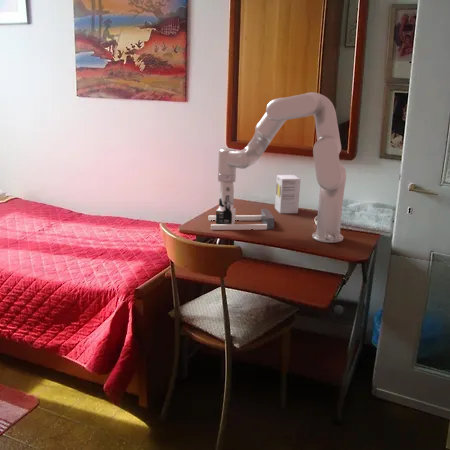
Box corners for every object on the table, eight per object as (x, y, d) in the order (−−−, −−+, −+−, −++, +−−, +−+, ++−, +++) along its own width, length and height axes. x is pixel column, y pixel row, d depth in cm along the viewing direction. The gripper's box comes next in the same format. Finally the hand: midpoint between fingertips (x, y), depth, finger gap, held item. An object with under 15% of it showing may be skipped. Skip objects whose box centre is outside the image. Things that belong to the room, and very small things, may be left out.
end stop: (273, 229, 230) (274, 218, 228) (266, 229, 229) (267, 218, 228) (267, 219, 244) (267, 208, 242) (260, 219, 244) (261, 208, 242)
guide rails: (266, 229, 229) (267, 224, 229) (211, 229, 227) (211, 225, 226) (260, 219, 244) (261, 215, 243) (208, 219, 241) (208, 215, 240)
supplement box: (274, 208, 263) (276, 174, 258) (292, 207, 264) (294, 174, 260) (279, 213, 254) (282, 178, 249) (298, 213, 255) (300, 178, 251)
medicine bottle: (215, 226, 232) (216, 199, 229) (219, 221, 239) (220, 195, 235) (231, 227, 231) (232, 200, 227) (235, 223, 237) (236, 196, 234)
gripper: (238, 182, 221) (236, 222, 226) (233, 173, 237) (231, 210, 242) (220, 182, 220) (219, 222, 225) (216, 173, 236) (215, 210, 241)
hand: (225, 216), depth 234 cm, fingers closed on medicine bottle, 9 cm apart
